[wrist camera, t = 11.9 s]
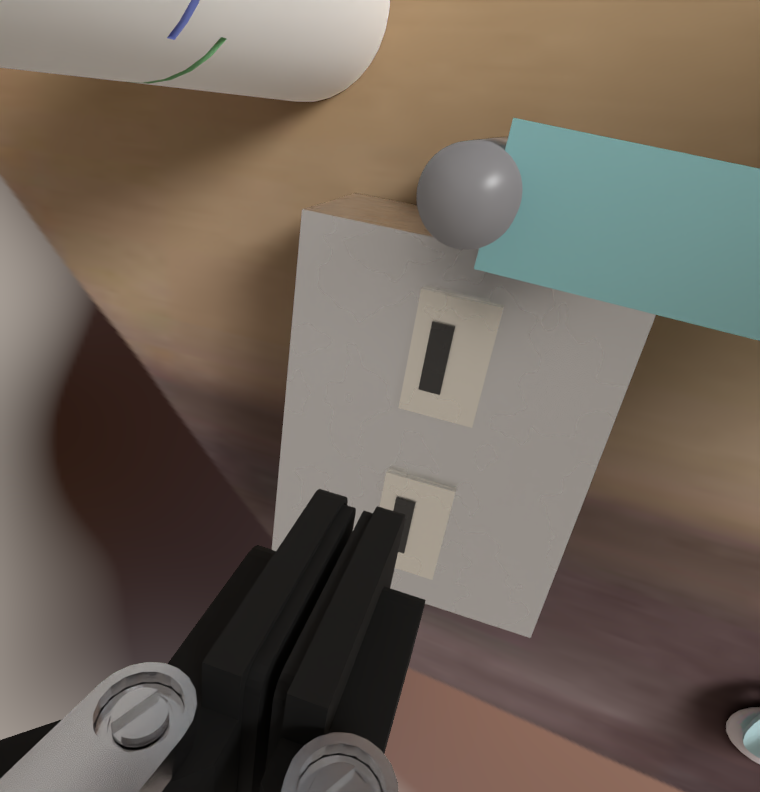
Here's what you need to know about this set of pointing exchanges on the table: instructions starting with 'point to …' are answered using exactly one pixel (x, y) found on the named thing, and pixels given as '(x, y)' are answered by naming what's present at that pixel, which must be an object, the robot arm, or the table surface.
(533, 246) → the swing bar
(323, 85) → the cylindrical container
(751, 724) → the pacifier
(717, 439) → the table surface
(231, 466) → the table surface
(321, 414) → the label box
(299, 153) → the table surface
